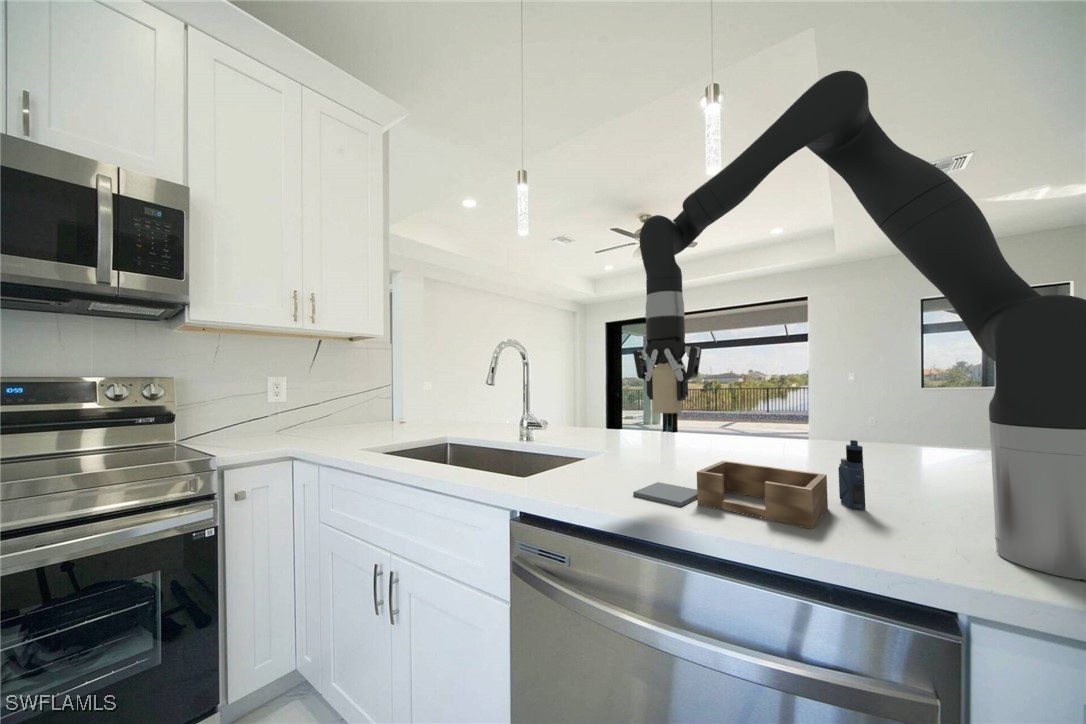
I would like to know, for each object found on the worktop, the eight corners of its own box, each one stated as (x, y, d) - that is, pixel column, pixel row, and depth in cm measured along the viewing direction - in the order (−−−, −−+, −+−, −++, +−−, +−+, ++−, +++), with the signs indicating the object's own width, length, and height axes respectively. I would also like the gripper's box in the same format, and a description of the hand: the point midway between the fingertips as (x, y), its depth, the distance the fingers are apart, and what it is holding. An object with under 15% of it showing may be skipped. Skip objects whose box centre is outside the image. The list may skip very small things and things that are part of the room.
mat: (703, 494, 80) (703, 490, 80) (681, 506, 73) (681, 502, 73) (657, 485, 87) (657, 482, 87) (633, 495, 80) (633, 491, 80)
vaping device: (851, 510, 70) (849, 441, 70) (837, 501, 75) (835, 437, 75) (869, 511, 69) (866, 442, 70) (853, 502, 74) (850, 437, 75)
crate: (827, 508, 71) (826, 474, 71) (812, 529, 62) (810, 489, 62) (723, 489, 84) (722, 460, 84) (697, 504, 74) (696, 471, 74)
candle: (678, 411, 83) (676, 362, 83) (684, 413, 77) (683, 362, 78) (651, 411, 83) (650, 363, 84) (655, 413, 78) (654, 362, 78)
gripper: (707, 314, 79) (710, 400, 78) (643, 322, 89) (644, 398, 88) (691, 310, 73) (693, 402, 73) (624, 318, 83) (626, 399, 83)
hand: (666, 399), depth 80 cm, fingers closed on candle, 5 cm apart
